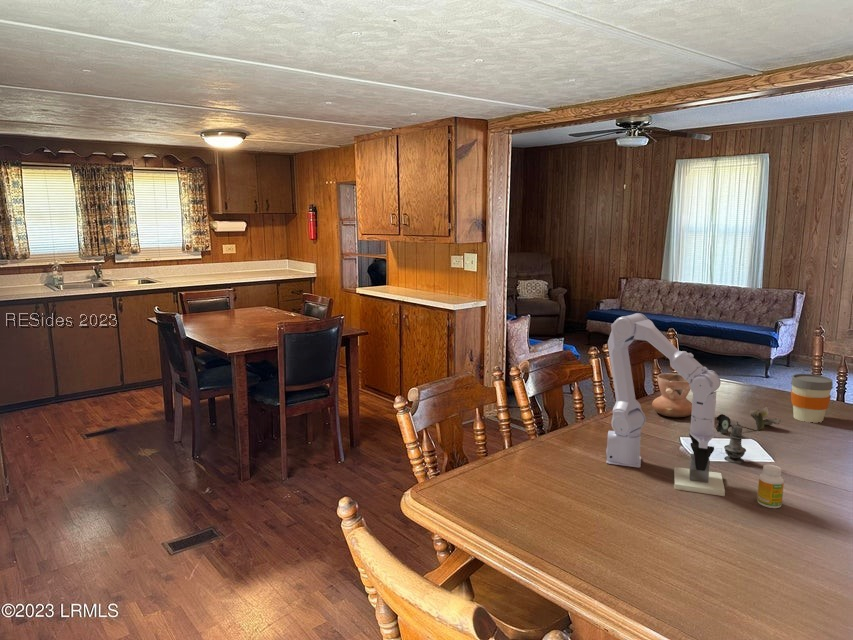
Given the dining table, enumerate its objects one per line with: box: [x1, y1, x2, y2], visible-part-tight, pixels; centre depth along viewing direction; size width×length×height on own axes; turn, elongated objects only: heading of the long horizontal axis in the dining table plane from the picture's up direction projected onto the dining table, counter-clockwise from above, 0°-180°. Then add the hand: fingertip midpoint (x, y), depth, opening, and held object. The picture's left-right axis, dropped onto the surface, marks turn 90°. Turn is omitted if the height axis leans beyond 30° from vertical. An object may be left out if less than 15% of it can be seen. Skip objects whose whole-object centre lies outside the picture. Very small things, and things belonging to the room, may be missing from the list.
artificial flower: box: [715, 406, 782, 435], centre depth 204 cm, size 9×22×10 cm, turn 101°
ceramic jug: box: [651, 372, 692, 418], centre depth 220 cm, size 18×14×14 cm
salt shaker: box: [723, 421, 747, 464], centre depth 178 cm, size 6×6×12 cm
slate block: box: [689, 453, 711, 483], centre depth 163 cm, size 4×4×6 cm
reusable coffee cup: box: [790, 373, 834, 424], centre depth 214 cm, size 13×13×15 cm
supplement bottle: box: [756, 464, 785, 509], centre depth 151 cm, size 5×5×10 cm
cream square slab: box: [673, 466, 726, 497], centre depth 164 cm, size 12×12×2 cm
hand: (699, 464), depth 163 cm, fingers open, 7 cm apart
